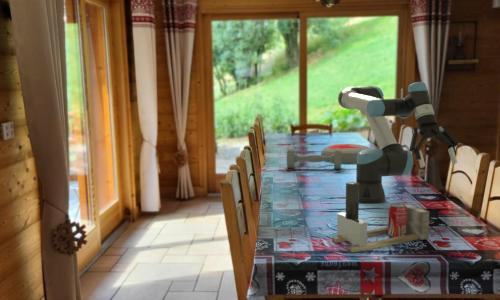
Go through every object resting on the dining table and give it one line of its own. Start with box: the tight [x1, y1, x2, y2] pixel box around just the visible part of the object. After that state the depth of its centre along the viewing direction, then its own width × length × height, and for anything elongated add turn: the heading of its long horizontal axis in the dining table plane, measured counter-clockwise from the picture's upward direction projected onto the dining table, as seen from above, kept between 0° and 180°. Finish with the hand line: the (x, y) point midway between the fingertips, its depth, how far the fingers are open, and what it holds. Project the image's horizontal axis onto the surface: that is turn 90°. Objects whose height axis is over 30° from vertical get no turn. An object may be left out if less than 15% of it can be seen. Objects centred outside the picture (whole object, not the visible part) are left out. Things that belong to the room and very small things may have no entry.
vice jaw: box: [336, 181, 368, 247], centre depth 158 cm, size 13×4×20 cm, turn 23°
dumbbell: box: [286, 147, 342, 170], centre depth 289 cm, size 13×33×13 cm, turn 80°
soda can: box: [387, 202, 407, 238], centre depth 167 cm, size 6×6×12 cm
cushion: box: [320, 143, 372, 164], centre depth 321 cm, size 37×37×10 cm
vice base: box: [331, 201, 430, 253], centre depth 164 cm, size 14×32×10 cm, turn 113°
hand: (439, 165), depth 186 cm, fingers open, 13 cm apart
